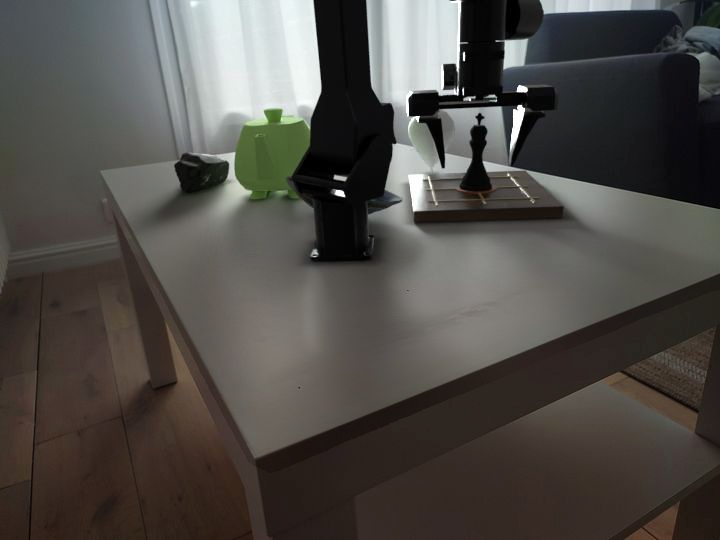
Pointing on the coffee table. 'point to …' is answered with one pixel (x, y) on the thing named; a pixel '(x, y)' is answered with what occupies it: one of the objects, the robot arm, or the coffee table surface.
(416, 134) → the spinning top
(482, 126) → the chess piece
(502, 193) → the board
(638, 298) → the coffee table surface
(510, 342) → the coffee table surface
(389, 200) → the seashell
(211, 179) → the rock
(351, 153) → the robot arm
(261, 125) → the teapot
